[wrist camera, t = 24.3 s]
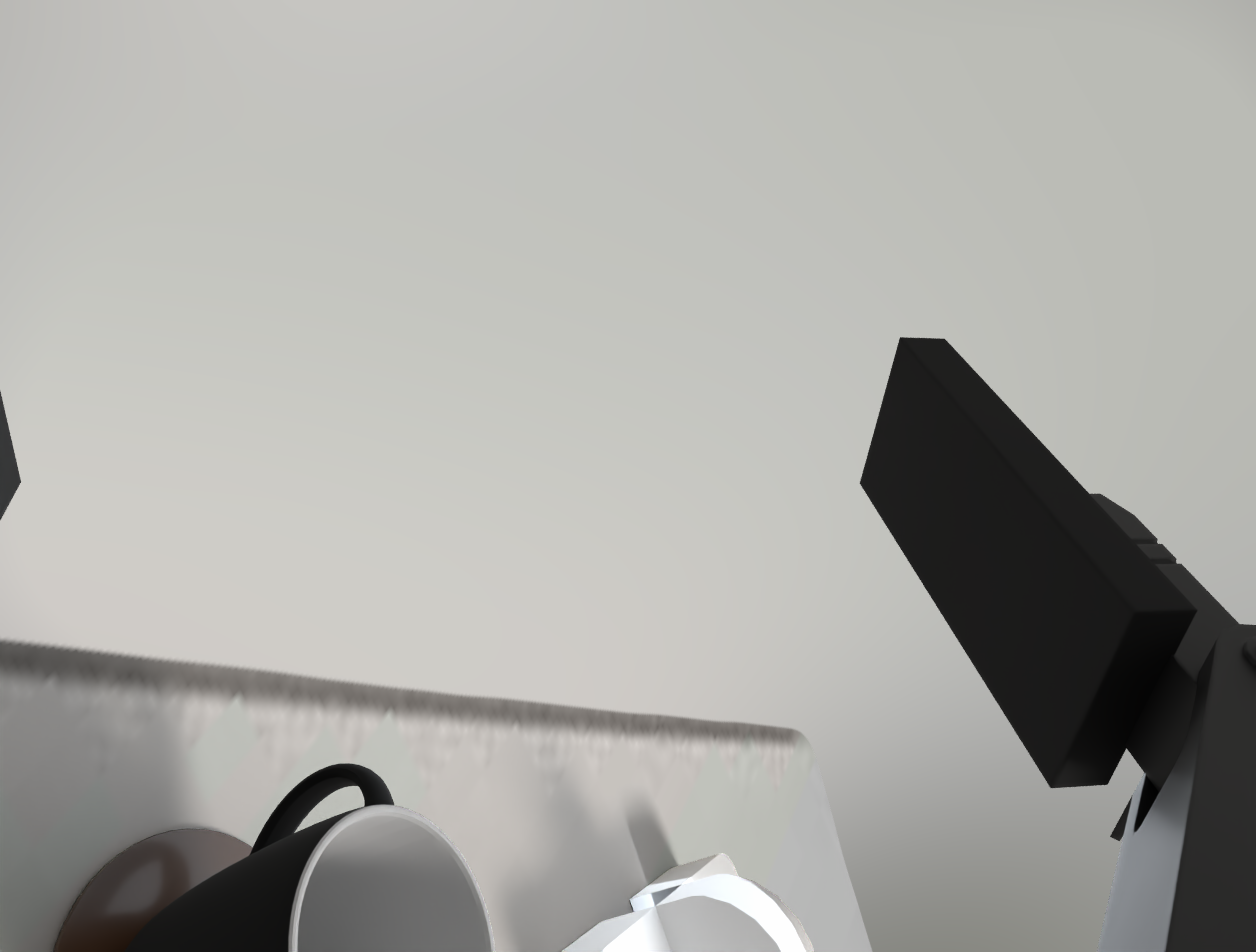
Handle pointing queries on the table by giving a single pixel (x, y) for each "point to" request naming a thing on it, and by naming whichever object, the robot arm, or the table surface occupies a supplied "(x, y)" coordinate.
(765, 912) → the u-slot mount
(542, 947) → the table surface
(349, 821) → the mug
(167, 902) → the coaster
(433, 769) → the table surface
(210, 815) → the table surface
